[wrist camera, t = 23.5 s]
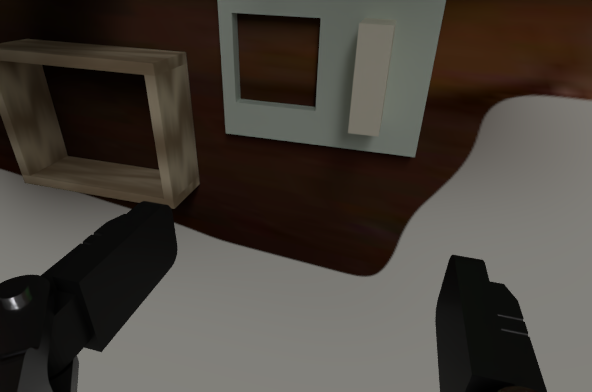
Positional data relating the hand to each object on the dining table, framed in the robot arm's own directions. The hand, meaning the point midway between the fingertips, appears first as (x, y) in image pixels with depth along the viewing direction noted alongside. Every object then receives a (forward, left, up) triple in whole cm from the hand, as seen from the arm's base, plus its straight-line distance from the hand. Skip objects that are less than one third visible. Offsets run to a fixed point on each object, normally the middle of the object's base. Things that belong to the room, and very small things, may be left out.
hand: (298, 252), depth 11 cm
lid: (0, -4, -26) cm, 26 cm away
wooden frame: (+7, -26, -26) cm, 38 cm away
